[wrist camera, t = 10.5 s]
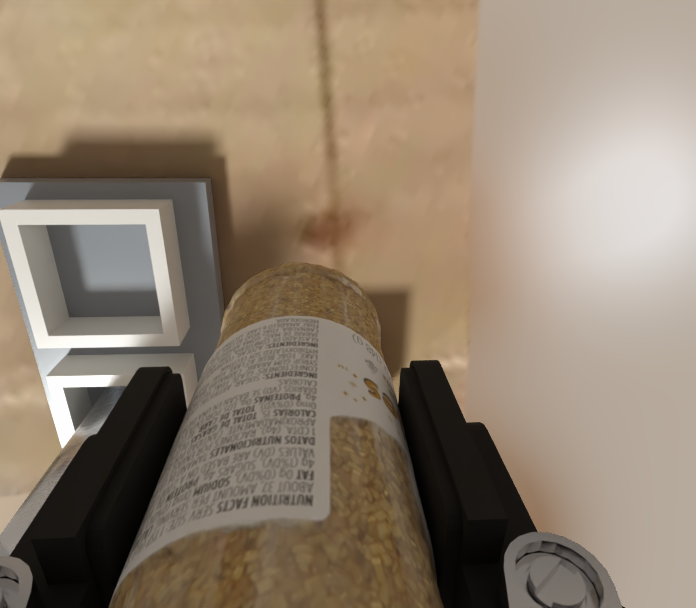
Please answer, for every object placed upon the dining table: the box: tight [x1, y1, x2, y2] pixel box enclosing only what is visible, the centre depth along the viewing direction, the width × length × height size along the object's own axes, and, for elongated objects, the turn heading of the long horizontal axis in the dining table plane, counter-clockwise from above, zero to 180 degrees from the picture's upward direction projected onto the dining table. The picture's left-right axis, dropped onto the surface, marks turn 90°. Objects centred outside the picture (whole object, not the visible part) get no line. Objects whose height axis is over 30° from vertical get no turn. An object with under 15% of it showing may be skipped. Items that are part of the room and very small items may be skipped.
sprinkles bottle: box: [109, 262, 444, 608], centre depth 8 cm, size 5×5×14 cm
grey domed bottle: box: [0, 386, 127, 556], centre depth 27 cm, size 5×5×12 cm
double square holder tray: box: [0, 178, 225, 449], centre depth 30 cm, size 20×12×4 cm, turn 179°
